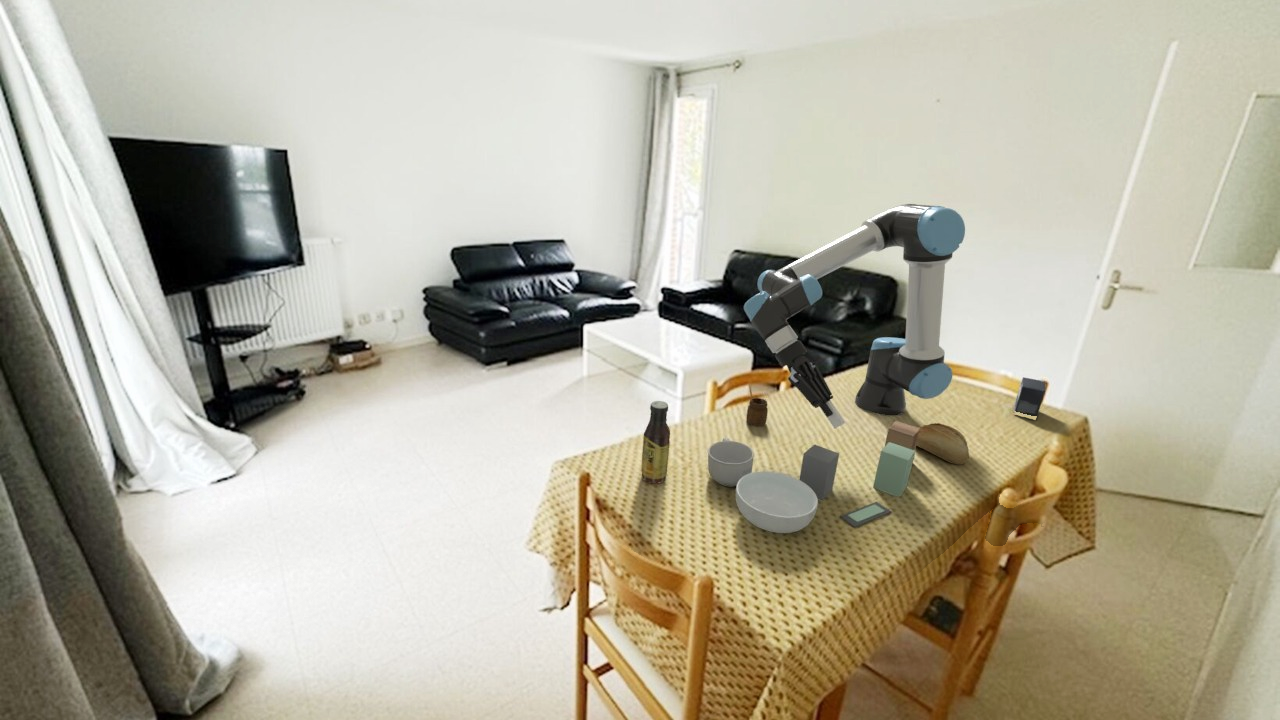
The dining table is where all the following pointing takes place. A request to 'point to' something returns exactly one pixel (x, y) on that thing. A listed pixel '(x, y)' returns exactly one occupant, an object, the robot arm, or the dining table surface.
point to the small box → (1030, 396)
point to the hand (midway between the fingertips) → (839, 425)
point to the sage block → (894, 469)
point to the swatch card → (865, 514)
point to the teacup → (729, 461)
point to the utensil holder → (757, 410)
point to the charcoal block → (819, 470)
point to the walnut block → (902, 435)
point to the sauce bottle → (656, 444)
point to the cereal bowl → (776, 501)
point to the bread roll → (943, 442)
